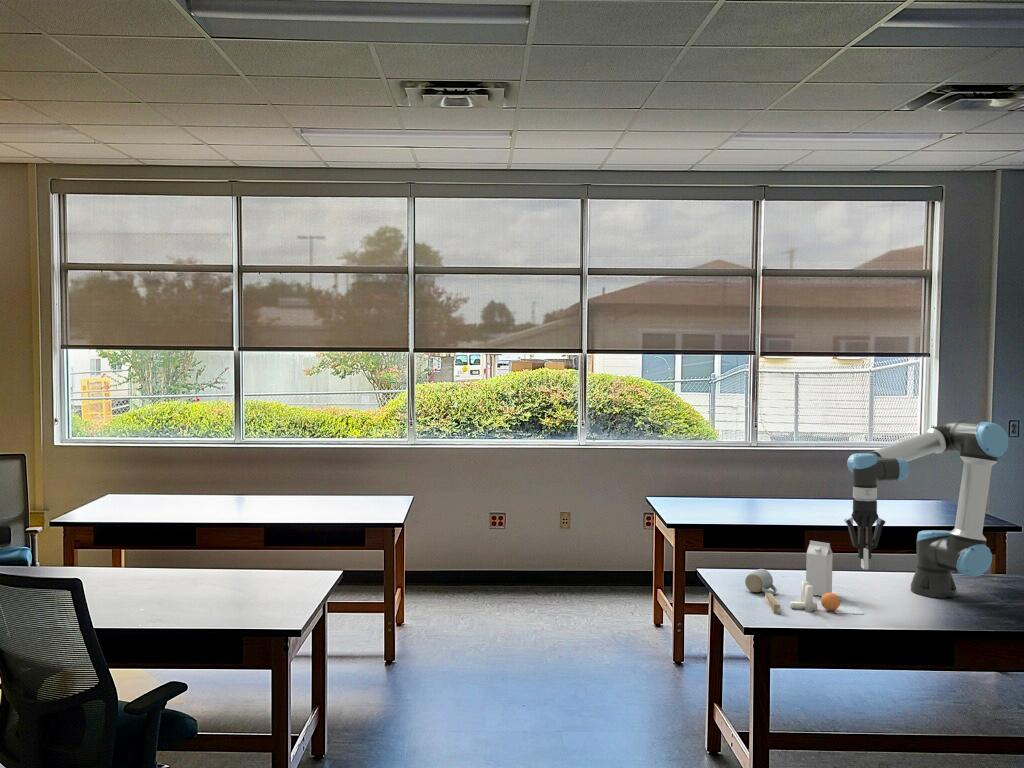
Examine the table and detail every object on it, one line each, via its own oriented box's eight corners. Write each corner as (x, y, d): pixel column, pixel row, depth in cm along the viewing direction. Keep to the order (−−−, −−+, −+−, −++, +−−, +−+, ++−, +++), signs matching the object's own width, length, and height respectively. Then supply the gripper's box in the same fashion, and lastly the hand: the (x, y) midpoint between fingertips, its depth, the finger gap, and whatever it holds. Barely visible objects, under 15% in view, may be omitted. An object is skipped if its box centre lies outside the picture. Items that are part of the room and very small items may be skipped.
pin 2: (811, 610, 270) (812, 585, 270) (813, 612, 267) (814, 587, 267) (804, 609, 270) (804, 585, 270) (806, 611, 268) (806, 586, 267)
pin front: (815, 601, 272) (789, 600, 273) (817, 603, 269) (791, 602, 270) (815, 608, 272) (789, 607, 273) (817, 610, 270) (791, 609, 271)
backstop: (770, 601, 279) (770, 593, 279) (780, 613, 265) (780, 604, 265) (765, 601, 279) (765, 592, 279) (774, 613, 265) (774, 604, 265)
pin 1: (807, 605, 275) (807, 581, 275) (809, 607, 272) (809, 583, 272) (800, 605, 275) (800, 581, 275) (802, 607, 273) (802, 582, 272)
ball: (815, 602, 273) (831, 609, 273) (821, 609, 267) (837, 616, 267) (823, 587, 272) (839, 593, 272) (829, 594, 266) (845, 600, 266)
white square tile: (855, 607, 273) (856, 606, 273) (863, 614, 265) (863, 613, 265) (829, 606, 274) (829, 605, 274) (836, 613, 266) (836, 612, 266)
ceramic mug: (743, 591, 292) (743, 570, 292) (754, 586, 298) (754, 566, 298) (770, 597, 285) (771, 576, 285) (780, 593, 291) (781, 572, 290)
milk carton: (812, 589, 295) (813, 539, 295) (831, 593, 291) (832, 541, 290) (805, 593, 290) (806, 542, 289) (825, 597, 285) (826, 545, 285)
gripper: (848, 500, 266) (848, 570, 266) (889, 501, 264) (888, 571, 265) (841, 497, 273) (841, 565, 274) (880, 497, 272) (880, 565, 272)
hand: (864, 568), depth 269 cm, fingers closed
